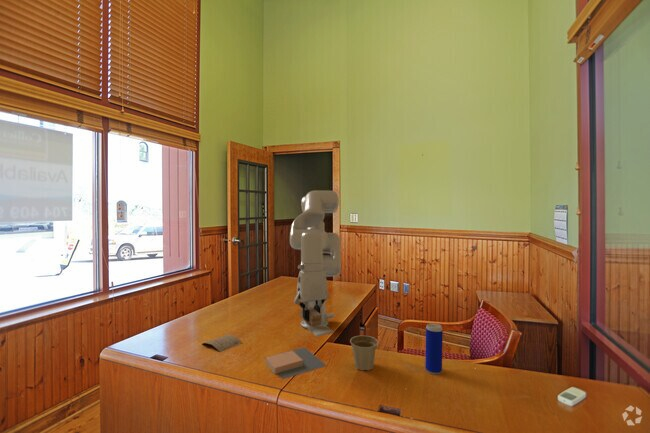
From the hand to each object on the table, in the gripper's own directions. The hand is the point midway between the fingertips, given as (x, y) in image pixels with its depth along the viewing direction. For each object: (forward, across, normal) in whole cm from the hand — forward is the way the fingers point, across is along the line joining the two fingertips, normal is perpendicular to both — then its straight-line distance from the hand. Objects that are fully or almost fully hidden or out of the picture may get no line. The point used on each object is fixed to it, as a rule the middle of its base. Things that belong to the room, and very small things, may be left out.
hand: (311, 318), depth 109 cm
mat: (+15, -6, +1) cm, 16 cm away
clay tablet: (+15, -24, +28) cm, 40 cm away
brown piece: (+2, 0, -2) cm, 2 cm away
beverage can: (+15, +31, -27) cm, 44 cm away
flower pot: (+15, +13, -13) cm, 24 cm away
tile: (+13, -10, +5) cm, 17 cm away
